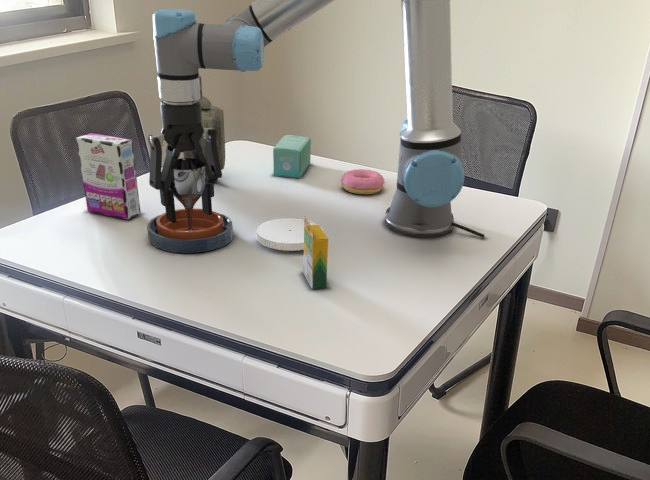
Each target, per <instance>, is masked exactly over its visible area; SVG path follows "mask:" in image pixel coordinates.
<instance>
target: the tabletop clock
mask: <svg viewBox="0 0 650 480" xmlns="http://www.w3.org/2000/svg"><path fill="white" fill-rule="evenodd" d="M199 85H200V99H199V100H198V101H199V102H200V103H201V115H202V121H201V124H202V126H203V128H206V127H210V128H213V129H215V130H216V131H217V136H216V145H217V150H218V155H219V160H220V166H221V171H223V170H224V169H225V165H226V136H225V118H224V117H225V115H224V110H223V109H221V108H220V107H217V106H215V105H212V103H211V101H210V100H209V98H208V97H206V96H203V86H202V85H203V84H202V76H201V75H199ZM199 143H200V145H201V148H202V150H203V154H204V156H205V159H206V161H207V163H208V165H209V160H208V155H207V150H206V145H205V138H204V137H203V135H202V137H201V139H200V141H199ZM182 154H183V158H192V159H195V158H194V156H193V154H192V152H191V151H184V152H182ZM209 167H210V165H209ZM216 180H217V182H218V181H219V178H217V179H216Z"/></svg>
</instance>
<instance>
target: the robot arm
mask: <svg viewBox="0 0 650 480" xmlns="http://www.w3.org/2000/svg"><path fill="white" fill-rule="evenodd" d="M333 2H335V0H255V1H254V2H252V3H251V4H250V5H248V6H246V7H245V8H243V9H242V10H240V11H239V12H238V13H236V14H233V15H232V16H230V17H229V18H227V20H226V21H225V22H224V23H222V24H217V23H216V24H215V23H201V22H197V19H196V15H195V12H193V10H190V9H184V8H161V9H158V10H156V11H154V13H153V14H152V28H153V36H152V40H153V44H154V53H155V61H156V62H155V63H156V71H157V84H158V95H159V99H160V100H161V102H160V103H159V105H160V107H159V108H160V117H161V123H162V127H161V128H162V129H161V131H160V133H157V134H155V135H153V134H150V135H148V136H147V141H148V144H149V149H150V152H149V180H148V182H149V183H148V184H149V186H150V187H151V188H153V189H155V190H157V191H159V199H160V204H161V206H162V207H164V208H165V213H166V219H167V220H169V221H170V222H172V223H175V222H176V214H175V210H176V205H175V197H174V192H173V190H171V189H169V188H170V185H171V181H172V175H171V169H175V166H176V162H177V159H180V157H181V153H183V152H184V151H191V152H192V154H193V156H194V158H195V160H196V162H197V165H198V167H199V168H202V167H204V166H205V163H206V185H205V190H204V193H203V194H202V196H201V209H202V211H203V212H205V213H206V214H208V215H212V211H213V206H212V205H213V204H212V198H214V196H215V184H216V183H218V181H217V180H216V179H217V178H218V179H221V178H222V177H223V172H222V171H223V170H221V166H220V160H219V155H218V150H217V145H216V136H217V131H216V130H215V129H213V128H210V127H206V128H203V126H202V124H201V121H202V115H201V103H200V102H199V101H198V100H199V99H200V85H199V76H200V73H199V69H203V70H206V69H209V70H223V71H224V70H225V71H240V72H241V73H245V72H250V71H251V72H258V71H260V70H261V69H262V68H263V65H264V56H265V55H264V54H265V50H264V48H265V47H266V46H268V45H269V44H271V43H272V42H274V40H277V39H278V38H279V37H281V36H283V35H284V34H285V33H287V32H288V31H290V30H292V29H293V28H295V27H297V26H298V25H299V24H301V23H302V22H304V21H305V20H307V19H309V18H310V17H312V16H313V15H315V14H317V12H319V11H320V10H322V9H324V8H325V7H327V6H328V5H330V4H331V3H333ZM400 7H401V8H400V9H401V23H402V25H401V26H402V42H403V61H404V63H403V64H404V83H405V99H406V100H405V101H406V102H405V103H406V118H407V119H405V120H404V121H403V122H402V123H401V128H400V132H399V136H400V138H399V149H398V151H399V152H398V163H397V164H398V165H397V177H396V189H395V191H394V195H393V197H392V200H391V201H390V206H389V207H388V208H386V210H385V226H386V227H387V228H388V229H390V230H391V231H393V232H396V233H397V234H401V235H404V236H409V237H414V238H436V237H441V236H445V235H448V234H450V233H451V232H452V231H453V229H454V227H455V228H457V229H460V230H463V231H465V232H468V233H470V234H473V235H475V236H477V237H479V238H485V234H484V233H482V232H479V231H476V230H474V229H472V228H470V227H467V226H464V225H461V224H459V223H456V222H455V218H454V213H452V205H451V202H452V201H454V200H455V199H456V198H457V197H458V196H459V194H460V192H461V191H462V189H463V186H464V183H465V177H466V173H465V168H464V164H463V162H462V130H461V129H460V127H458V125H457V124H456V123H454V121H453V118H454V116H453V73H452V69H453V68H452V66H453V65H452V24H451V23H452V21H451V18H452V17H451V0H400ZM202 135H203V137H204V138H205V145H206V150H207V155H208V160H209V165H210V167H209V165H208V163H207V161H206V159H205V156H204V154H203V150H202V148H201V145H200V143H199V141H200V139H201V137H202ZM164 142H165V143H166V148H165V156H164V161H163V148H162V147H163V146H164ZM162 163H163V165H162Z"/></svg>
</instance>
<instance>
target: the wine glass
mask: <svg viewBox="0 0 650 480" xmlns="http://www.w3.org/2000/svg"><path fill="white" fill-rule="evenodd" d="M171 175H172V181H171V185H170V188H169V189H171V190H173V192H174V199H176V200H177V201H178V202H179V203H180V204H181V205H182V206H183V209H185V210H186V213H187V218H188V226H189V229H186V230H181V231H195V230H199V229H193V227H192V210H193V209H194V207H195V205H196V203H197V202H198V200H200V198H202V194H203V193H204V190H205V185H206V163H205V166H204V167H202V168H199V167H198V165H197V162H196V160H195V159H192V158H184V157H181V158H180V157H179V158H178V159H177V162H176V166H175V169H171Z"/></svg>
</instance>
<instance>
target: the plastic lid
mask: <svg viewBox="0 0 650 480" xmlns="http://www.w3.org/2000/svg"><path fill="white" fill-rule="evenodd" d="M308 222H309V223H310V225H319V224H318V223H315V222H314V221H311V220H308ZM307 225H308V224H307ZM319 226H320V228H321V229H322V231H323V232H324V228H323V227H322V226H321V225H319ZM324 233H325V232H324ZM255 238H256V240H257V242H258V243H259V244H261V245H262V246H264V247H266V248H269V249H273V250H279V251H281V250H282V251H286V252H287V251H292V252H293V251H304V218H303V219H302V218H301V219H300V218H292V217H291V218H289V217H287V218H285V217H284V218H276V219H271V220H268V221H264V222H262V223H260V224H259V225H257V227H256V229H255Z"/></svg>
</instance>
